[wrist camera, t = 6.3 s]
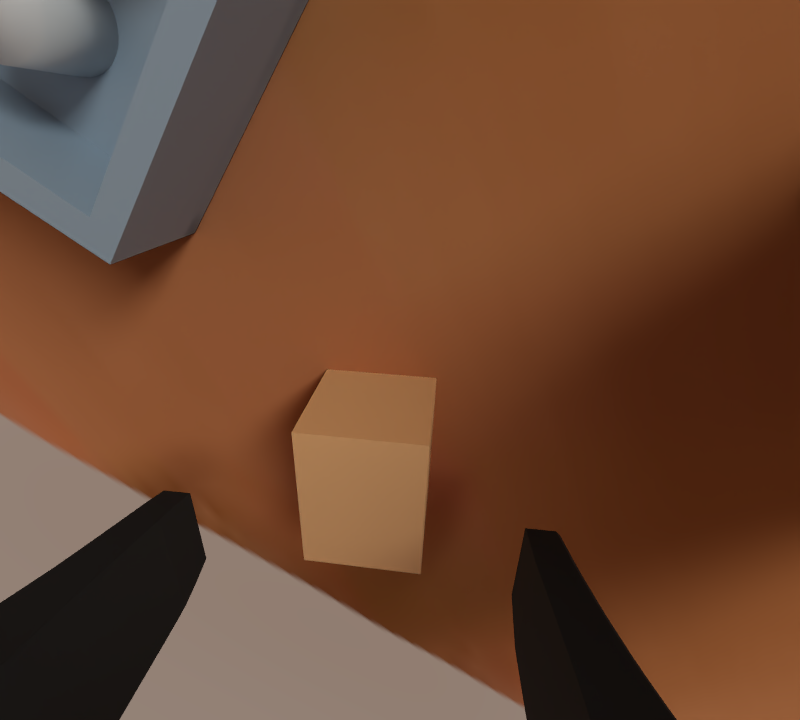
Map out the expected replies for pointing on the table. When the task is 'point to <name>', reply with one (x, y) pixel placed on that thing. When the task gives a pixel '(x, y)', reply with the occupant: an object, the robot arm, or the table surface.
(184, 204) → the tub
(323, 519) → the lid
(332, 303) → the table surface
